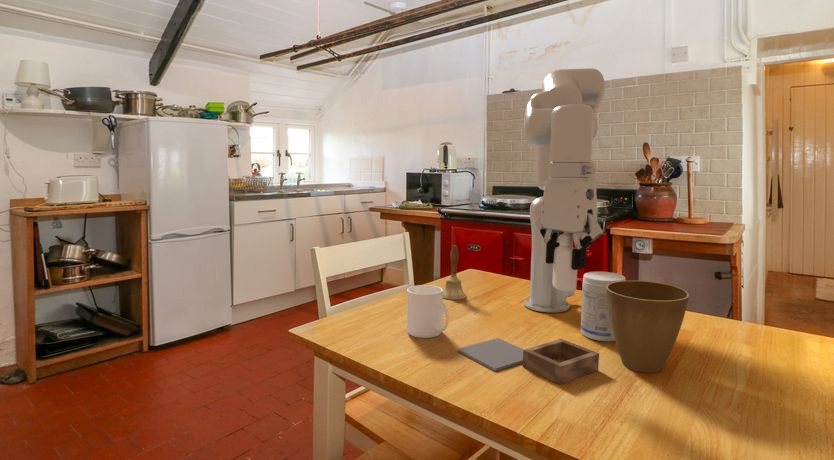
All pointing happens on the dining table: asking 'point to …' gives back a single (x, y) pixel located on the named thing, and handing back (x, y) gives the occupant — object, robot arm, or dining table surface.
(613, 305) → the plant pot
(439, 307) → the mug
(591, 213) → the robot arm
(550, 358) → the box
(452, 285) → the hand bell
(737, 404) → the dining table surface
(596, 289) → the supplement tub
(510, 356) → the coaster
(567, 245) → the eye dropper bottle
